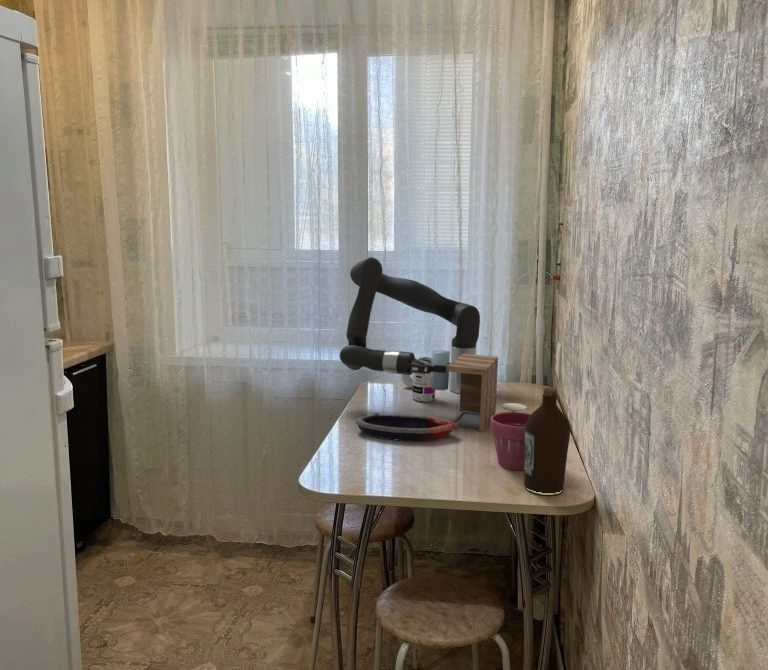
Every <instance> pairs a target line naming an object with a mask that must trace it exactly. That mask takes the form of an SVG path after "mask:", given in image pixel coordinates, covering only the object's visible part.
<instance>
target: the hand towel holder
mask: <svg viewBox="0 0 768 670" xmlns="http://www.w3.org/2000/svg"><path fill="white" fill-rule="evenodd" d="M501 407H502V408H503V410H507V411H508V412H523V411H524V410H526V409H527V406H526V405H525V404H521V403H518V402H517V403H516V402H508V403H507V402H506V403H503V404H501Z"/></svg>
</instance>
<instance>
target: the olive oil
mask: <svg viewBox="0 0 768 670" xmlns="http://www.w3.org/2000/svg"><path fill="white" fill-rule="evenodd" d="M542 392H543V394H542V403H541V405H540V406H538V407H537V408H536V409H534V411H533V412H532V413H530V414H531V415H530V416H529V417H528V419H527V422H526V425H525V470H524V476H523V477H524V478H523V479H524V480H523V481H524V483H523V486H524V485H525V487H526V488H528V489H530V490H533V491H536V492H542V493H556V492H560V491H561V490H563V491H564V489H565V488H564V486H565V479H566V478H565V476H566V470H567V469H566V468H567V467H566V466H567V461H568V460H567V459H568V452H569V445H570V437H571V425H570V422H569V419H568V418H567V416H566V415H565V414H564V413H563V412H562V411H561V409H560V408H559V407H558V405H557V401H558V395H557V394H558V390H557V389H555V388H550V387H546V388H543V391H542ZM525 487H524V488H525Z"/></svg>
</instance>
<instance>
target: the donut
mask: <svg viewBox="0 0 768 670" xmlns="http://www.w3.org/2000/svg"><path fill="white" fill-rule="evenodd" d="M400 378H401V381H402V382H403V384H404V385H405V386H406V387H408V388H409V387H410V388H409V389H413V378H412V377H411V375H404V374H400Z"/></svg>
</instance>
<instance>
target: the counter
mask: <svg viewBox="0 0 768 670" xmlns="http://www.w3.org/2000/svg"><path fill="white" fill-rule="evenodd" d="M450 363H451V362H450ZM498 368H499V356H494V355H482V354H476V355H472V354H462V355H460V356H459V357H458V358H457V359H456V360H454V361H453V362H452V363H451V364H449V365H448V370H447V372H449V373H450V372H457V373H461V387H460V393H459V412H461V411H468V412H476V413H480V424H479V429H478V432H479V433H484V431H486V428H487V427H488V425H490V421H491V417H492V416H493V415H495V414H496V403H497V385H498V370H499V369H498Z"/></svg>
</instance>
